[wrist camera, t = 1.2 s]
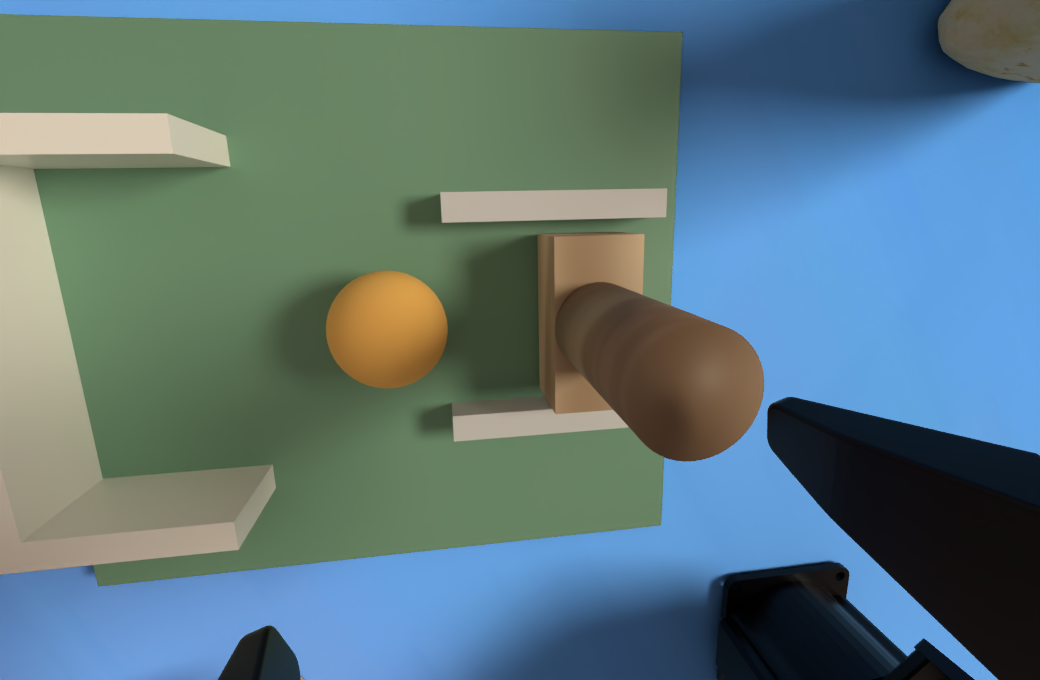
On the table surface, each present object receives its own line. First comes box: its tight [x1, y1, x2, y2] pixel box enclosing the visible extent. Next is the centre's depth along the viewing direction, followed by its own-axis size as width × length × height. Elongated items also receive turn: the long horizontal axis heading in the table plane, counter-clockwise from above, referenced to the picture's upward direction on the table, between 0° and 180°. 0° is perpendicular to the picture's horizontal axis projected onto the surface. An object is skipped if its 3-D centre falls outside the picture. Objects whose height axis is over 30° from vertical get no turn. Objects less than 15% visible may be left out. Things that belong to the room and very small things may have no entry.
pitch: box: [0, 14, 683, 586], centre depth 20 cm, size 23×20×2 cm
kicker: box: [537, 232, 764, 461], centre depth 16 cm, size 3×6×10 cm, turn 1°
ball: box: [326, 270, 448, 389], centre depth 18 cm, size 4×4×4 cm
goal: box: [0, 113, 276, 575], centre depth 17 cm, size 7×13×4 cm, turn 1°
